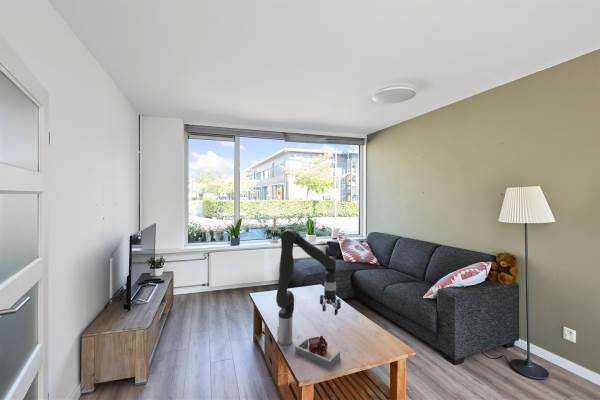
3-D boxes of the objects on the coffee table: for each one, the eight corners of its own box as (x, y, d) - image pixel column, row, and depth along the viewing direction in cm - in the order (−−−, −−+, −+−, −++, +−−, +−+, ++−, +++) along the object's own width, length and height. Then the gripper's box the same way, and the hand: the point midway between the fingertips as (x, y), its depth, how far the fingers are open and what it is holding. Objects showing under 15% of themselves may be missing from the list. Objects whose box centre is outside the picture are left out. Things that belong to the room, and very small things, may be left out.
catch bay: (295, 352, 170) (295, 346, 170) (306, 344, 180) (306, 338, 180) (329, 368, 155) (329, 361, 155) (340, 358, 165) (340, 351, 165)
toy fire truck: (329, 354, 169) (329, 337, 168) (311, 358, 164) (311, 341, 164) (324, 348, 175) (324, 332, 175) (306, 352, 171) (306, 335, 171)
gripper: (317, 287, 178) (317, 312, 178) (337, 292, 169) (336, 318, 170) (323, 284, 184) (323, 308, 184) (342, 288, 175) (342, 314, 176)
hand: (330, 313), depth 177 cm, fingers open, 8 cm apart
